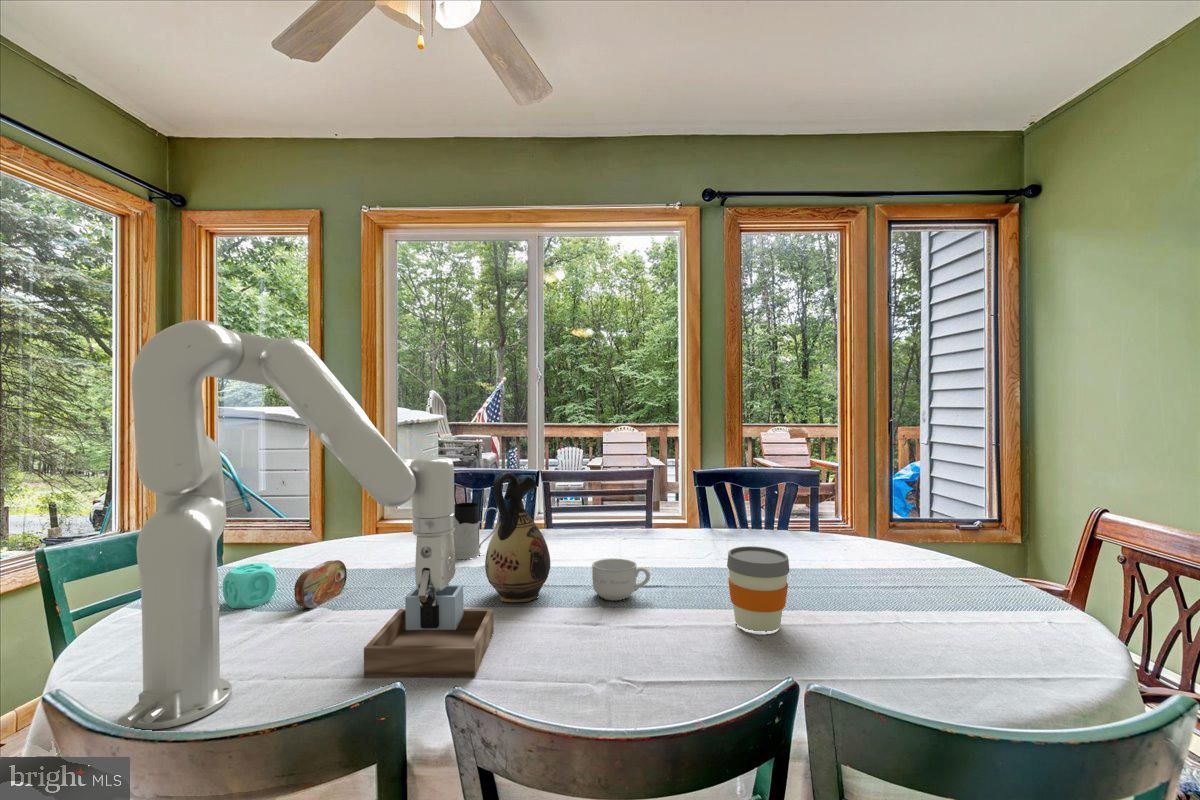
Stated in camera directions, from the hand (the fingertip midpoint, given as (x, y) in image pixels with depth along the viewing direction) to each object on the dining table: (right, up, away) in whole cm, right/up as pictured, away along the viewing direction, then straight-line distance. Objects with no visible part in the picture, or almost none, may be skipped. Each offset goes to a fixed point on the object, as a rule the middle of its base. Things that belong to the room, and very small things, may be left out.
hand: (435, 618), depth 103 cm
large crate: (0, -6, 0) cm, 6 cm away
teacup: (+36, -6, +28) cm, 46 cm away
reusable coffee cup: (+64, -7, +12) cm, 65 cm away
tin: (-34, -6, +26) cm, 43 cm away
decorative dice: (-50, -6, +25) cm, 56 cm away
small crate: (0, -1, 0) cm, 1 cm away
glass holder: (-7, -6, +62) cm, 63 cm away
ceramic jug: (+11, -6, +28) cm, 31 cm away
